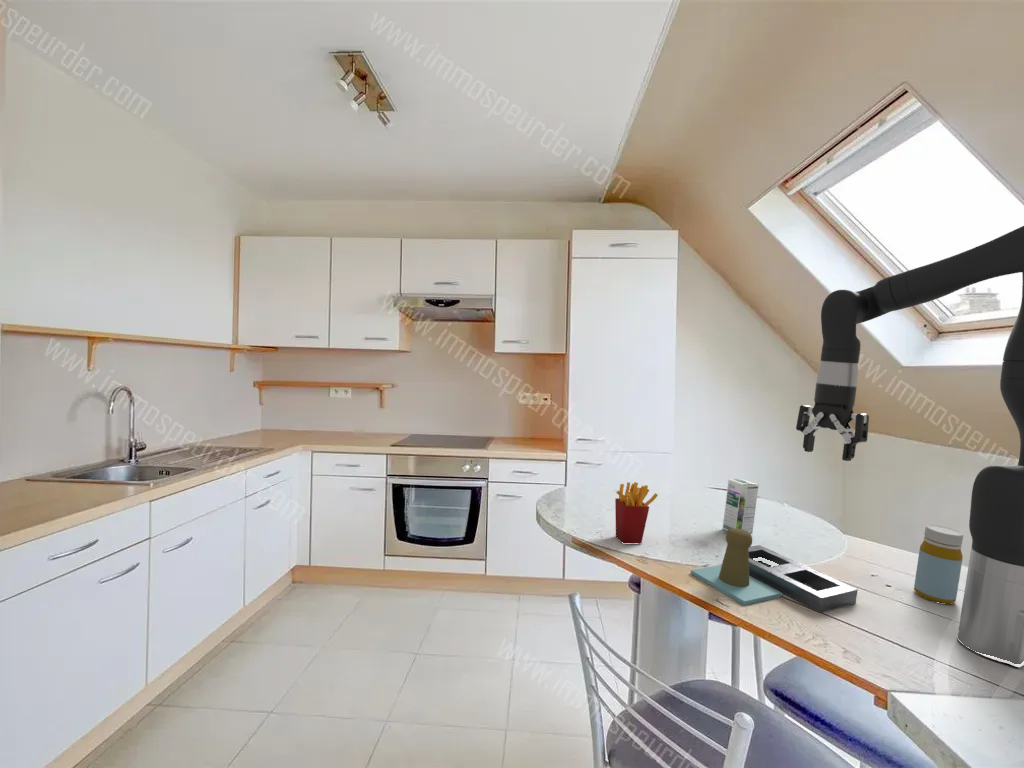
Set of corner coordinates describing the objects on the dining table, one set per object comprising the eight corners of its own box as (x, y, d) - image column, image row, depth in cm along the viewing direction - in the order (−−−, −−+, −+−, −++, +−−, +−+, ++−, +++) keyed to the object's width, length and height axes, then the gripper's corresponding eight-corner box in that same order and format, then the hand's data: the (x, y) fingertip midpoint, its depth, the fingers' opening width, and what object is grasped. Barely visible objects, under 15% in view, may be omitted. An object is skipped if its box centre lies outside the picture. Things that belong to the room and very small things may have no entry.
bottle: (939, 606, 105) (950, 536, 104) (905, 590, 112) (915, 524, 110) (963, 604, 107) (974, 535, 106) (928, 588, 114) (938, 523, 112)
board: (781, 596, 104) (781, 593, 104) (744, 605, 99) (744, 601, 99) (726, 567, 117) (726, 563, 117) (690, 573, 112) (691, 570, 112)
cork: (752, 589, 105) (758, 537, 104) (721, 584, 106) (727, 533, 105) (745, 576, 111) (751, 527, 110) (716, 571, 112) (721, 523, 111)
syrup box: (721, 529, 142) (727, 478, 141) (736, 527, 145) (742, 477, 143) (738, 537, 137) (744, 484, 136) (753, 535, 139) (759, 483, 138)
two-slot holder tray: (855, 603, 104) (857, 589, 103) (819, 612, 99) (821, 598, 98) (758, 556, 124) (759, 545, 124) (724, 562, 119) (725, 550, 119)
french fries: (621, 545, 125) (626, 486, 123) (608, 532, 133) (613, 476, 131) (654, 545, 126) (660, 487, 125) (639, 532, 134) (645, 477, 133)
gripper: (881, 387, 106) (871, 463, 107) (815, 380, 119) (807, 448, 120) (860, 386, 103) (849, 464, 104) (794, 379, 115) (786, 449, 117)
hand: (826, 455), depth 112 cm, fingers open, 8 cm apart
